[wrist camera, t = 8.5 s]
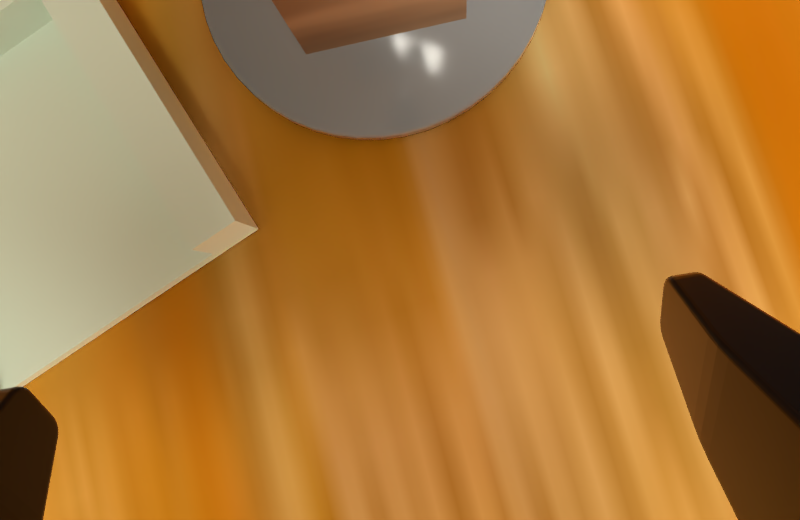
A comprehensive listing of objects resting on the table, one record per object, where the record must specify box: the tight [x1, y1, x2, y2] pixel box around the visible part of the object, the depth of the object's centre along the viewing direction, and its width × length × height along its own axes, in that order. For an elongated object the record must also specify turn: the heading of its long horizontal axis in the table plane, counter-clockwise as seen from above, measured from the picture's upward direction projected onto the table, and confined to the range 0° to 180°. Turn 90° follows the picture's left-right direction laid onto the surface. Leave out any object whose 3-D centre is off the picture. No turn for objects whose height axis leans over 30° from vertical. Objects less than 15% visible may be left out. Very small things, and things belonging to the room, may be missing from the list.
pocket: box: [0, 0, 258, 389], centre depth 19 cm, size 11×11×2 cm
